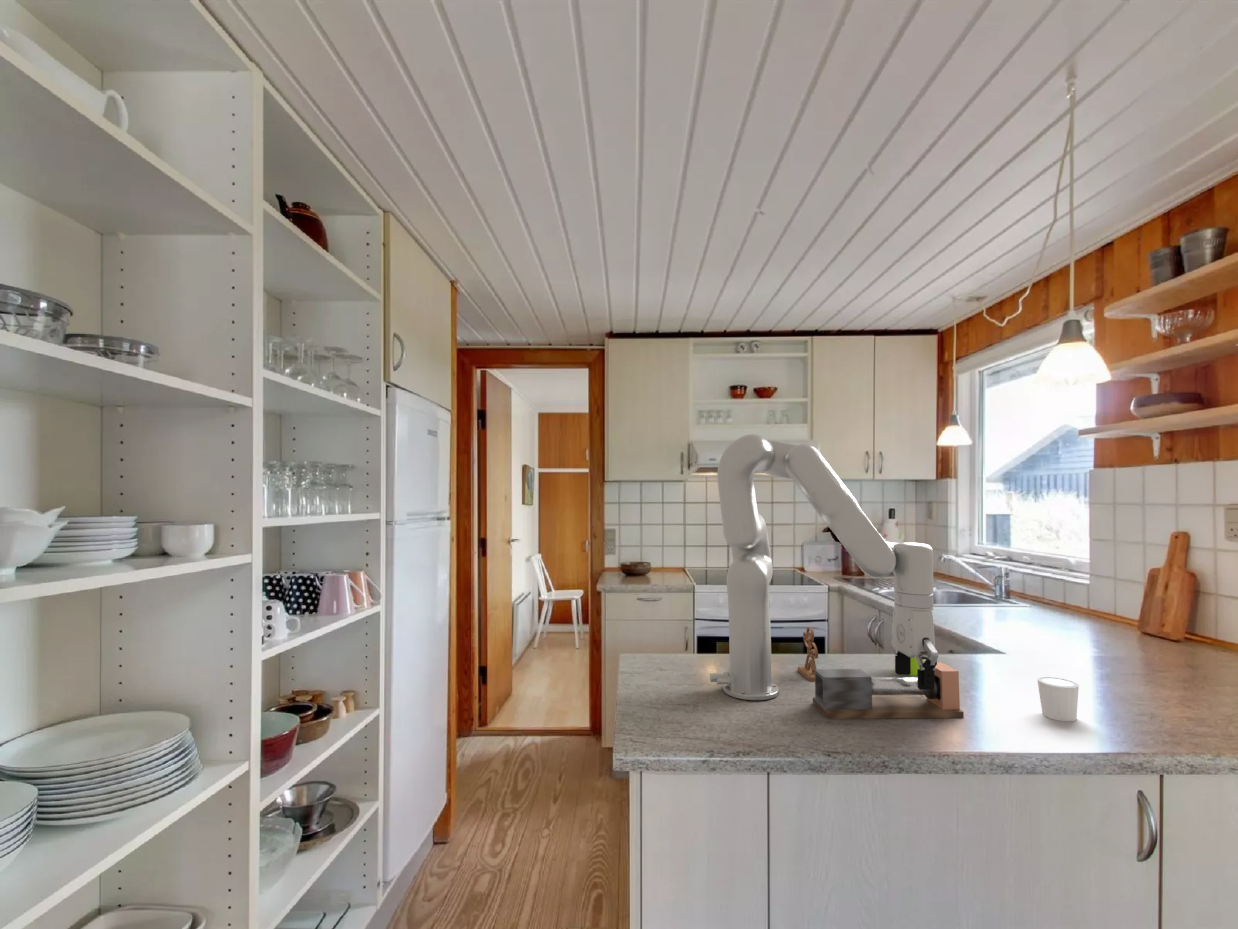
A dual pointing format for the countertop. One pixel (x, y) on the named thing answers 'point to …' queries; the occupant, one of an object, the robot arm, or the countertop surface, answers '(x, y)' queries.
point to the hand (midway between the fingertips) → (913, 681)
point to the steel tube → (902, 686)
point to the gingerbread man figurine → (811, 666)
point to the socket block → (947, 687)
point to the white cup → (1058, 698)
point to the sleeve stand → (868, 699)
